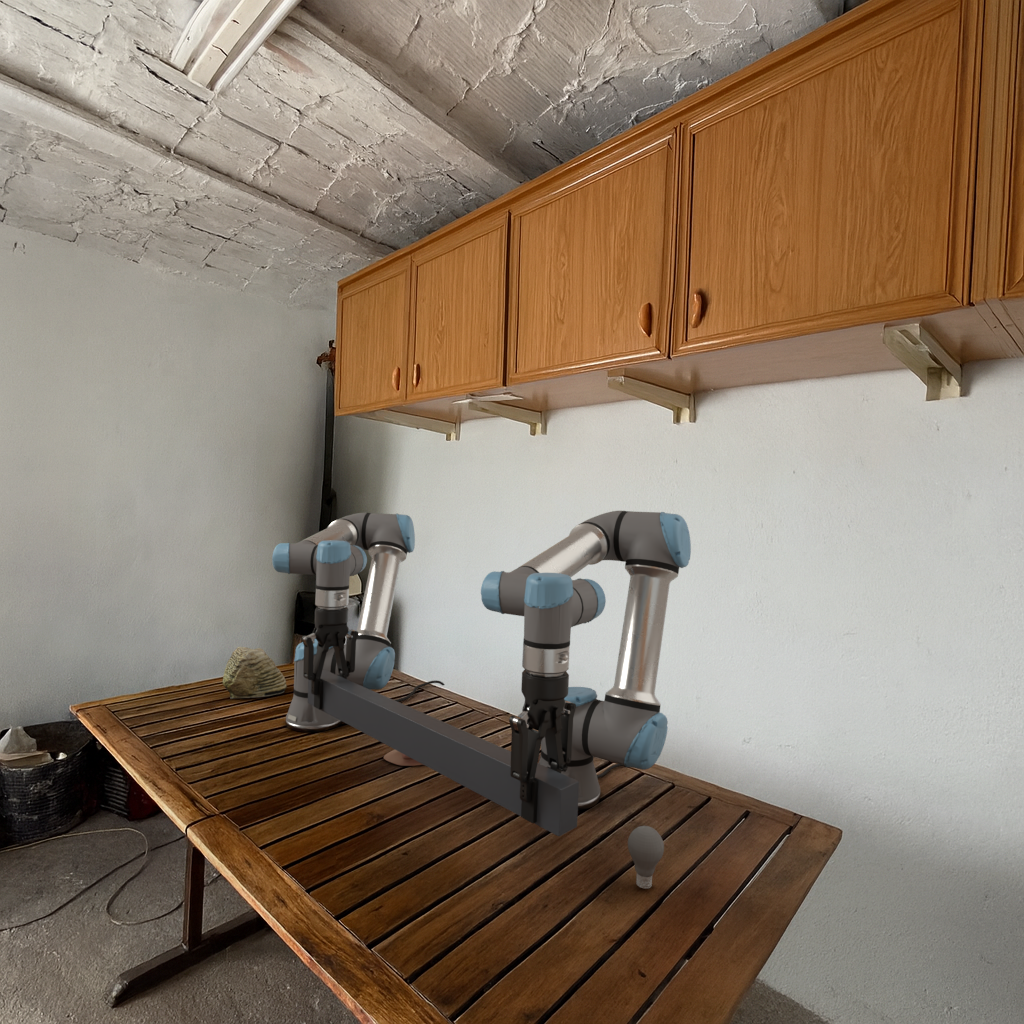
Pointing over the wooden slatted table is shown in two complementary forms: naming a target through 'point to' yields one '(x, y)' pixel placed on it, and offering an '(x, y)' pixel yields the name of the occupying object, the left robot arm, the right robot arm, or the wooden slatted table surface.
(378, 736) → the post
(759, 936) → the wooden slatted table surface
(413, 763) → the anatomical model
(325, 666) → the left robot arm
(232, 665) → the fossil
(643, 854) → the light bulb
